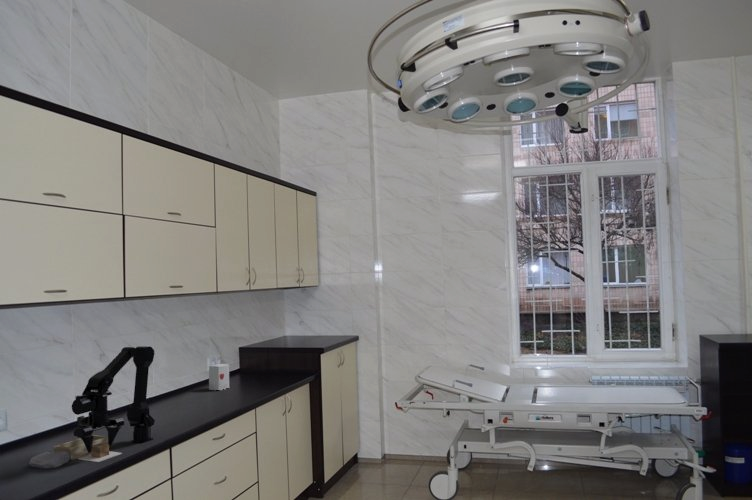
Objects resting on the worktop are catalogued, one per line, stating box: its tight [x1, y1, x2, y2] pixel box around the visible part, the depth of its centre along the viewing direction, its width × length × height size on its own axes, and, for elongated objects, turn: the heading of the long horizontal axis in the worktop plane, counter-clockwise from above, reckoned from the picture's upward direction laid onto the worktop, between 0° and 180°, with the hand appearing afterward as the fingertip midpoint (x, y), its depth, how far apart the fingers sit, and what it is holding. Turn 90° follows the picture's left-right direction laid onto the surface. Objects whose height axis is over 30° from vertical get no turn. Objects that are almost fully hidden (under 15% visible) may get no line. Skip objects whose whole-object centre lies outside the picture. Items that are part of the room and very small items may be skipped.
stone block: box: [29, 451, 70, 469], centre depth 215 cm, size 12×5×10 cm
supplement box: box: [208, 363, 230, 391], centre depth 355 cm, size 9×9×15 cm
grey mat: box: [77, 450, 123, 463], centre depth 222 cm, size 11×11×1 cm
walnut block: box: [91, 443, 110, 458], centre depth 222 cm, size 4×5×4 cm
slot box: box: [53, 434, 108, 462], centre depth 228 cm, size 17×10×4 cm, turn 155°
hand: (100, 449), depth 222 cm, fingers open, 9 cm apart
